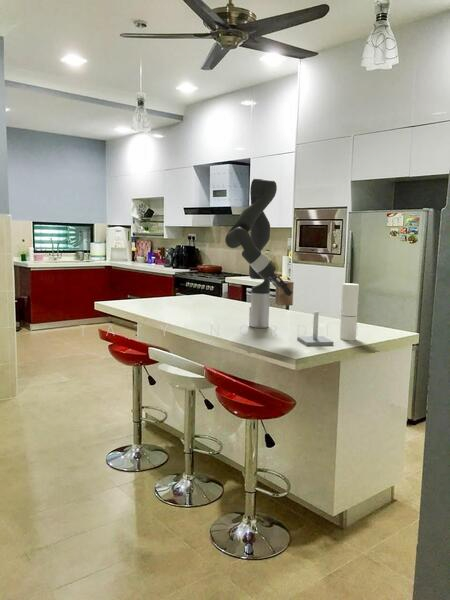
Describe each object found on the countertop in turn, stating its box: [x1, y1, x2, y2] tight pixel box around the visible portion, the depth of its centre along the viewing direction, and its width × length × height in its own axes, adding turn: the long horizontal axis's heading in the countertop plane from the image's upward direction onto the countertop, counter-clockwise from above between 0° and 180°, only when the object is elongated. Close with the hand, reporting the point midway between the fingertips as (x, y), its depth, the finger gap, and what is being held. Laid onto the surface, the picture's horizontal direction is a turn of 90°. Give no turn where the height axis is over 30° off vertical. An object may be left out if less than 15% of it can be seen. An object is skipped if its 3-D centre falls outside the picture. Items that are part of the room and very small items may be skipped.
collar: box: [274, 280, 294, 306], centre depth 211 cm, size 6×6×10 cm
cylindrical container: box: [339, 282, 360, 341], centre depth 220 cm, size 7×7×25 cm
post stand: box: [296, 311, 335, 347], centre depth 212 cm, size 12×12×14 cm
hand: (288, 293), depth 212 cm, fingers closed on collar, 6 cm apart
